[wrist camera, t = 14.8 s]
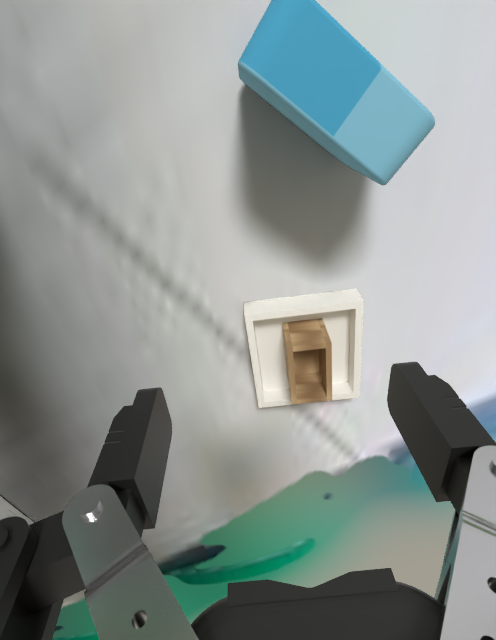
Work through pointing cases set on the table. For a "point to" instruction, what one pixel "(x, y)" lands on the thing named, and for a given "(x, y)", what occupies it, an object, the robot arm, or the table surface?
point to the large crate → (268, 315)
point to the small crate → (308, 360)
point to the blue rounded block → (333, 89)
